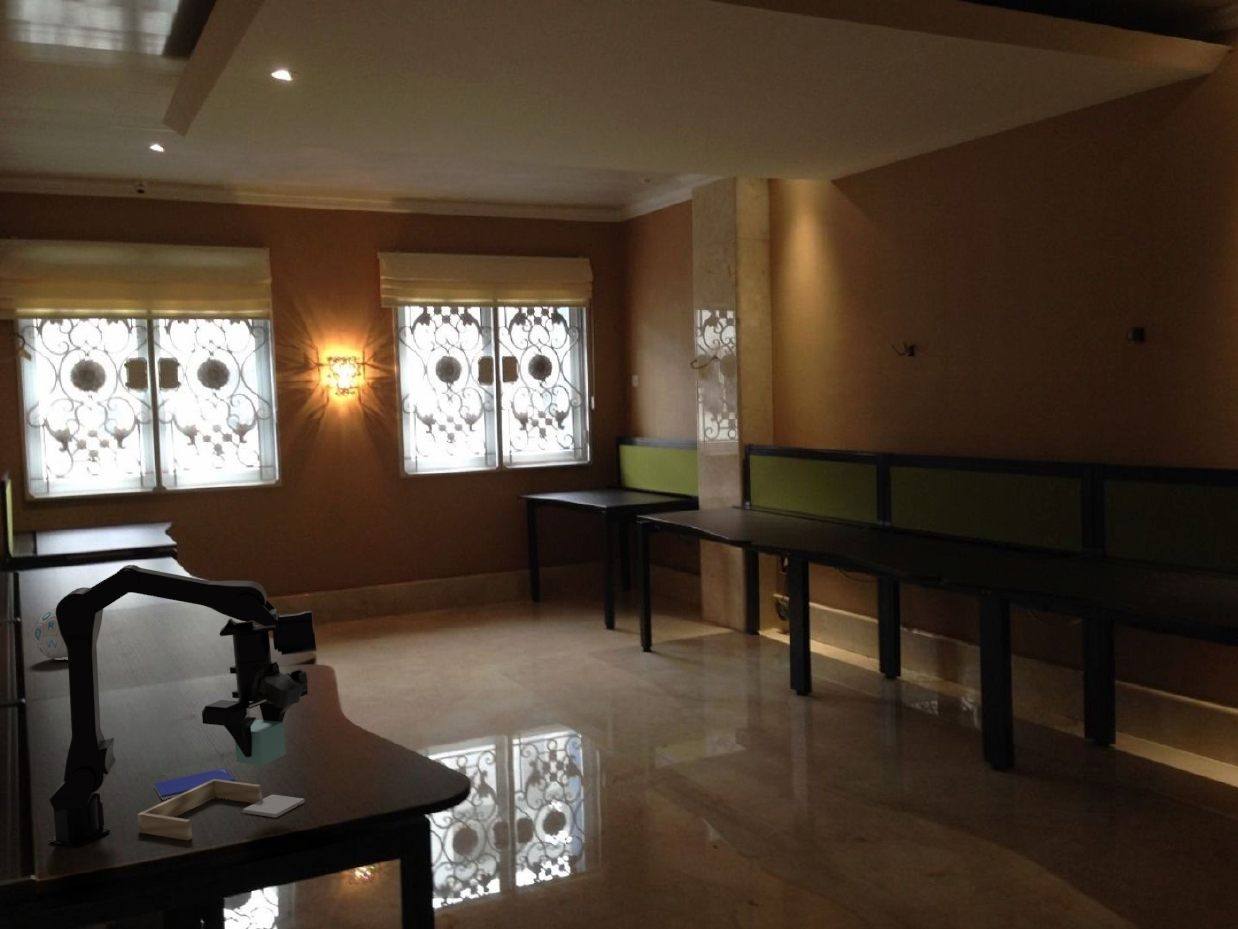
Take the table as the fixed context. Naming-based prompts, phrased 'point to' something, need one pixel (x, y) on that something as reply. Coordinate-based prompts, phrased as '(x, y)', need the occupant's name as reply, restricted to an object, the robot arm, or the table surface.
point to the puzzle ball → (49, 636)
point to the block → (264, 743)
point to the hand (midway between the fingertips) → (261, 751)
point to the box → (163, 814)
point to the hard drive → (189, 782)
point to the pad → (273, 805)
